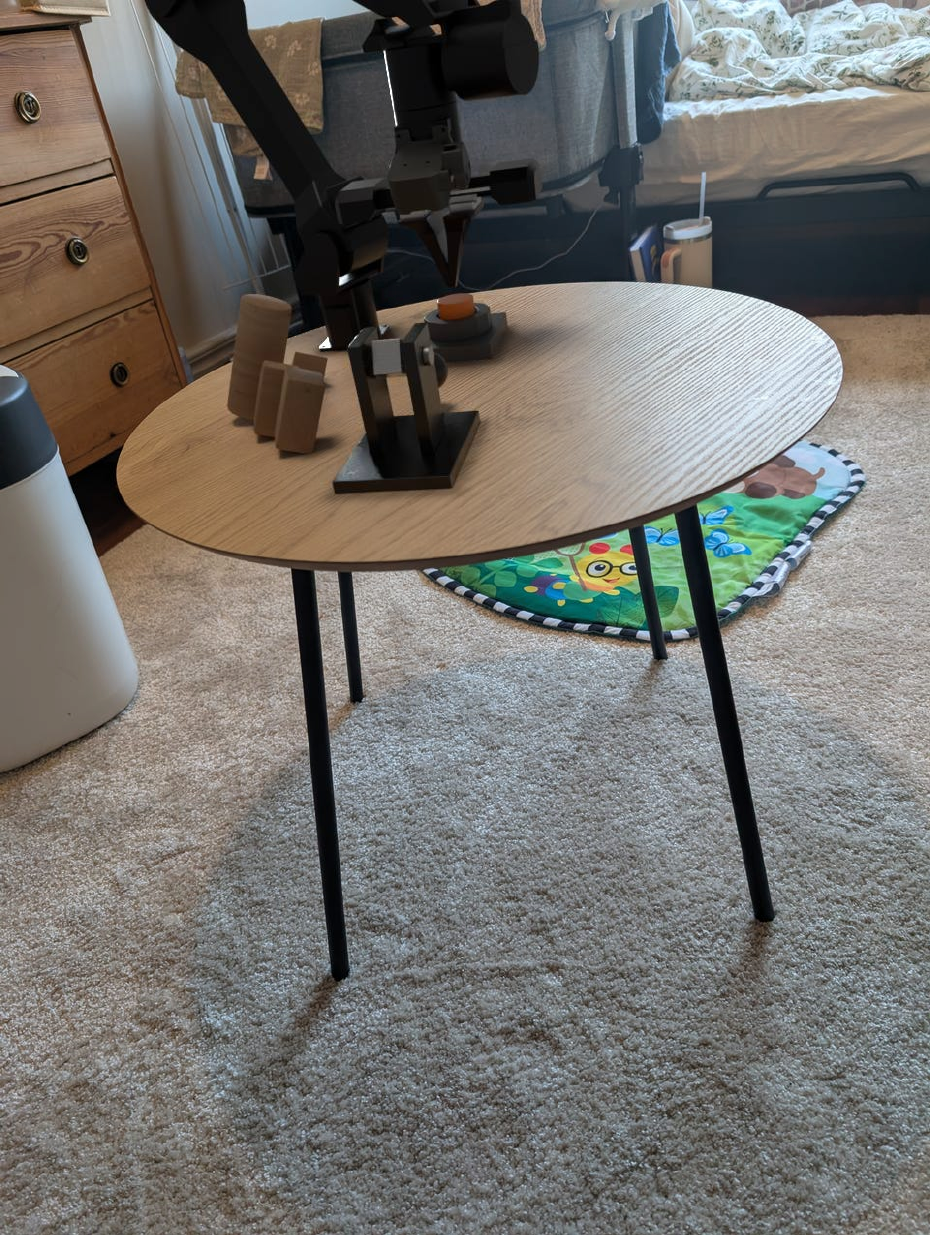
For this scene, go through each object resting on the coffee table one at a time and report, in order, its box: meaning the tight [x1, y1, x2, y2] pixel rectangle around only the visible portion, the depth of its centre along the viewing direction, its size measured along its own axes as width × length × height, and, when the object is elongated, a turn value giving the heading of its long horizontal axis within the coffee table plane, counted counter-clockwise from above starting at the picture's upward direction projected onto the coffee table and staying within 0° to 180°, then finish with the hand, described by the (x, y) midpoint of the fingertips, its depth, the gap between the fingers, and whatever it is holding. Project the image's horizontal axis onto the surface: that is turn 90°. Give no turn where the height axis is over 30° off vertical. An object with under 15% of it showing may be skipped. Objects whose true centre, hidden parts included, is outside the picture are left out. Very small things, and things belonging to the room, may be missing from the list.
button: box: [436, 292, 475, 320], centre depth 89 cm, size 4×4×2 cm
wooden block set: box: [226, 293, 328, 455], centre depth 78 cm, size 18×9×10 cm, turn 11°
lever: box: [371, 338, 449, 389], centre depth 71 cm, size 13×3×3 cm, turn 169°
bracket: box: [331, 321, 481, 495], centre depth 68 cm, size 12×9×10 cm
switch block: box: [423, 302, 509, 364], centre depth 90 cm, size 10×8×4 cm
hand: (452, 286), depth 88 cm, fingers closed
